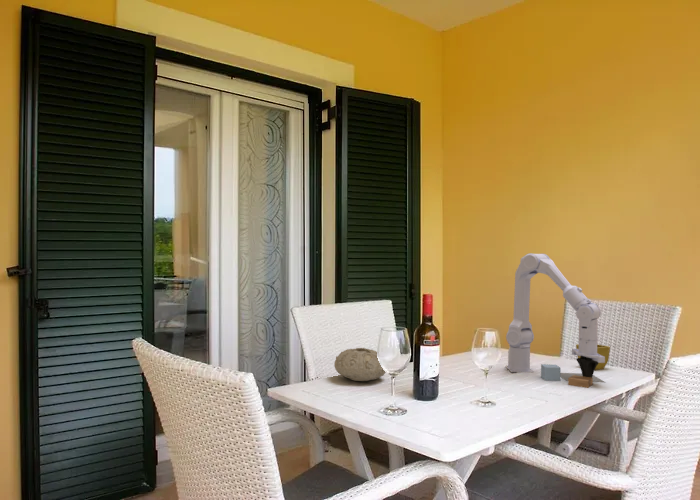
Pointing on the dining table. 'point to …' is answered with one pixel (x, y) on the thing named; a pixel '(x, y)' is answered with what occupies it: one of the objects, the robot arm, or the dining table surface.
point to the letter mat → (567, 375)
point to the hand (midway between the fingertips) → (587, 380)
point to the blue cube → (550, 372)
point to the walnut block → (580, 381)
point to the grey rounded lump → (359, 364)
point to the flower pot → (602, 351)
